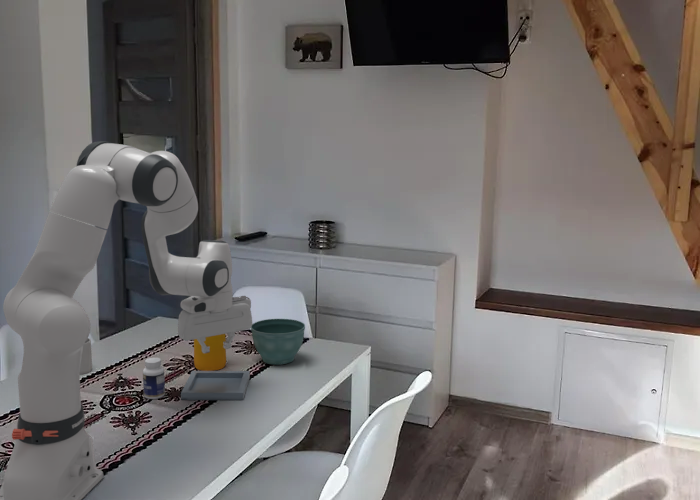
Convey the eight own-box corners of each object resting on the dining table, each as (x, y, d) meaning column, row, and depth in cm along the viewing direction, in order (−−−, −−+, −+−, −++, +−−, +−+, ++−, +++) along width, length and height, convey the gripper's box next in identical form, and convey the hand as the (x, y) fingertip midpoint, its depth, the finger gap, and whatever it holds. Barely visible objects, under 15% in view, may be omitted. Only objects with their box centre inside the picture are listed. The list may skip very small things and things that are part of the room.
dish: (243, 400, 184) (243, 392, 184) (181, 400, 184) (181, 392, 183) (249, 377, 200) (249, 371, 200) (192, 377, 199) (192, 370, 199)
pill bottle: (139, 396, 185) (137, 361, 183) (154, 390, 190) (152, 355, 188) (154, 401, 183) (153, 364, 181) (169, 394, 187) (168, 358, 185)
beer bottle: (231, 362, 212) (230, 267, 207) (218, 373, 203) (216, 273, 198) (202, 359, 214) (200, 265, 209) (188, 369, 205) (186, 271, 200)
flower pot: (241, 357, 216) (240, 323, 214) (286, 348, 226) (286, 315, 224) (268, 373, 204) (268, 336, 202) (315, 362, 213) (315, 327, 211)
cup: (82, 376, 199) (81, 346, 197) (51, 373, 201) (49, 342, 199) (97, 368, 205) (96, 338, 204) (66, 364, 208) (65, 335, 206)
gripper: (245, 292, 196) (245, 340, 198) (174, 302, 184) (176, 353, 186) (256, 297, 191) (256, 346, 193) (184, 308, 179) (186, 360, 181)
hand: (216, 350), depth 190 cm, fingers open, 5 cm apart
